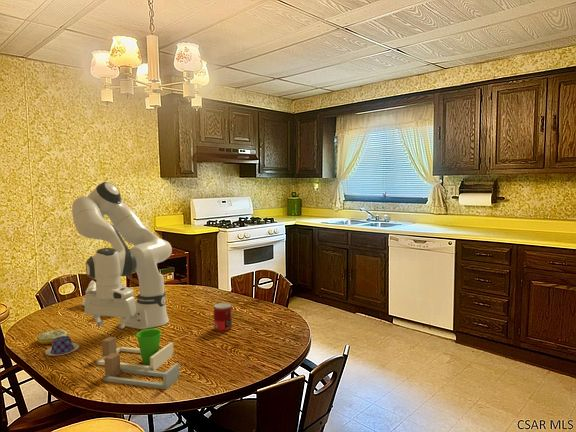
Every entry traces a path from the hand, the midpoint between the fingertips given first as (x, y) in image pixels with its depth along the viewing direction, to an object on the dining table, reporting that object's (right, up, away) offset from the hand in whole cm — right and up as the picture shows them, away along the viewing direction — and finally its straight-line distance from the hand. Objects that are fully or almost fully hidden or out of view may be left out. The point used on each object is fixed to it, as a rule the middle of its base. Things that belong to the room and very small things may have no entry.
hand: (110, 326), depth 152 cm
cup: (+16, -12, -4) cm, 21 cm away
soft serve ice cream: (-40, -7, +68) cm, 79 cm away
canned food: (+38, -9, +29) cm, 49 cm away
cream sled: (+10, -12, -2) cm, 16 cm away
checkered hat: (-23, -12, +8) cm, 27 cm away
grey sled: (+18, -13, -17) cm, 28 cm away
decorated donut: (-33, -11, +18) cm, 39 cm away
